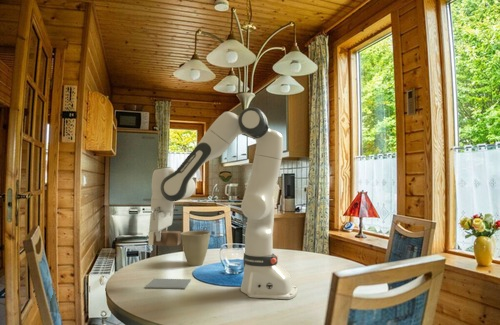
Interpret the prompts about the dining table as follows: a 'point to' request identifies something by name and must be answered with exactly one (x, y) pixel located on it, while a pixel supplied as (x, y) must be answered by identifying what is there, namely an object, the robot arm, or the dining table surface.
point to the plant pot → (195, 246)
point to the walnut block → (166, 238)
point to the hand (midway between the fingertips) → (161, 239)
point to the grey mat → (168, 284)
